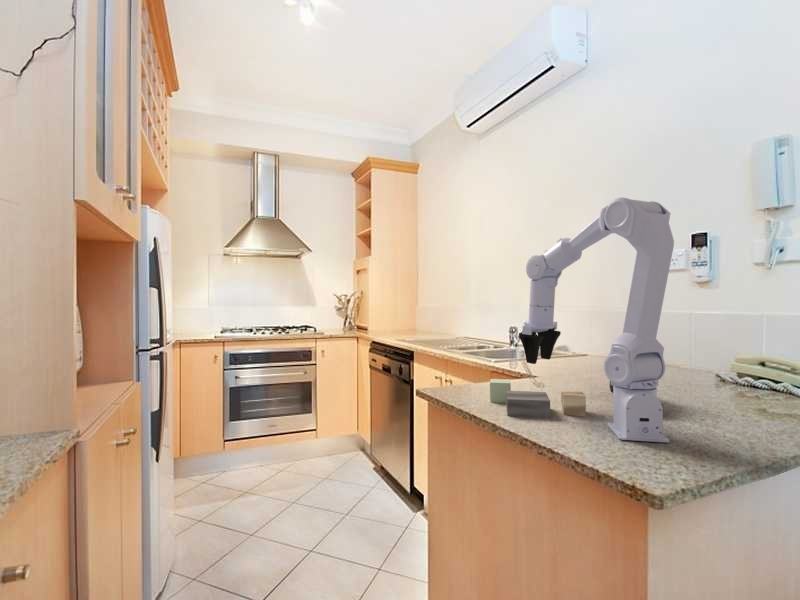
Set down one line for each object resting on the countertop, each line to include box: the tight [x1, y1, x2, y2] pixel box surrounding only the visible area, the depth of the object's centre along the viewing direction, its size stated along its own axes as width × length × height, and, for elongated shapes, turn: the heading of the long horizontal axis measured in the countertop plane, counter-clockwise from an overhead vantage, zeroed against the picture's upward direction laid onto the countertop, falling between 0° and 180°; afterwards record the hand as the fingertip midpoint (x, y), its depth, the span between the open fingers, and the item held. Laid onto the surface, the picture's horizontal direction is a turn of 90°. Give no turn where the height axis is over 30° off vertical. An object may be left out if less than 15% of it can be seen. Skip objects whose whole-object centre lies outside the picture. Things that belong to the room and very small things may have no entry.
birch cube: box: [560, 390, 587, 417], centre depth 94 cm, size 4×4×4 cm
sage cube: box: [489, 378, 512, 404], centre depth 107 cm, size 5×5×5 cm
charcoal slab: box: [505, 390, 551, 419], centre depth 95 cm, size 9×9×4 cm
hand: (538, 360), depth 103 cm, fingers open, 7 cm apart
